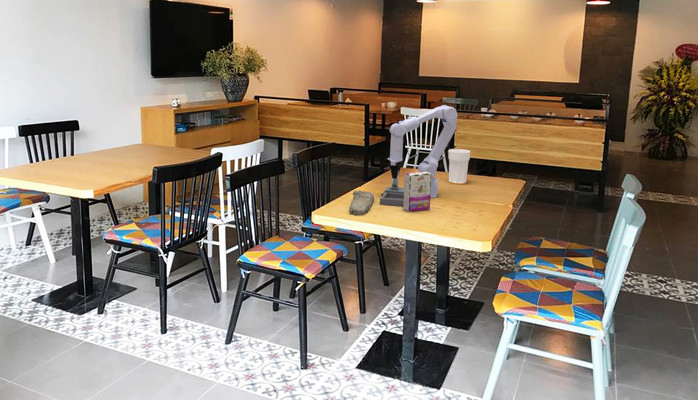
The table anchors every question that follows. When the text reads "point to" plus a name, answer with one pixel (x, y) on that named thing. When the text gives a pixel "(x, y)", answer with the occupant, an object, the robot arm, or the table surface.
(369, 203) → the elongated rock
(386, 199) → the tray
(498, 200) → the table surface
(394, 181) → the pin
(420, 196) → the candy bar box
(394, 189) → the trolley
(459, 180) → the cup
